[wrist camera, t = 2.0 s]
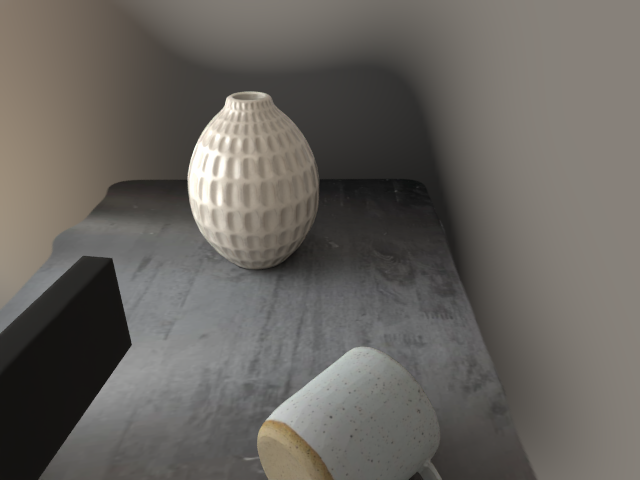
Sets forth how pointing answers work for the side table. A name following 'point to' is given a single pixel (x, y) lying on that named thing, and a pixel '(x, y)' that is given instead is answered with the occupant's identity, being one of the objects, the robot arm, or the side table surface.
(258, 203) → the vase
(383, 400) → the ceramic mug
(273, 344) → the side table surface
